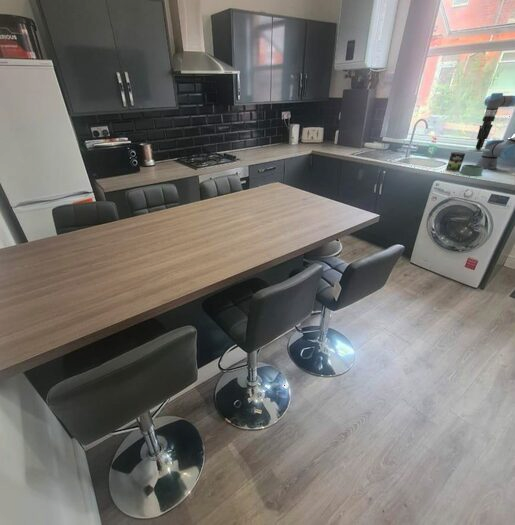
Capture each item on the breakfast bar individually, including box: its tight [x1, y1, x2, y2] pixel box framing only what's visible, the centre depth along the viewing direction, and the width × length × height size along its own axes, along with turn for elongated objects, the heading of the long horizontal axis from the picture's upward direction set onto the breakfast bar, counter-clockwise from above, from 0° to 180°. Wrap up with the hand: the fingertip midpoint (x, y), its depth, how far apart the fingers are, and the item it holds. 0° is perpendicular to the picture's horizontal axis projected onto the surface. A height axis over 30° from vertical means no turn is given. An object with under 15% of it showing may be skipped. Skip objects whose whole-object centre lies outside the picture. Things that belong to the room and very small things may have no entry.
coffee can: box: [445, 151, 466, 173], centre depth 249 cm, size 10×10×14 cm
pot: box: [459, 164, 485, 177], centre depth 240 cm, size 15×15×6 cm
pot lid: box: [466, 139, 490, 153], centre depth 238 cm, size 16×16×9 cm
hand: (478, 147), depth 239 cm, fingers closed on pot lid, 3 cm apart
